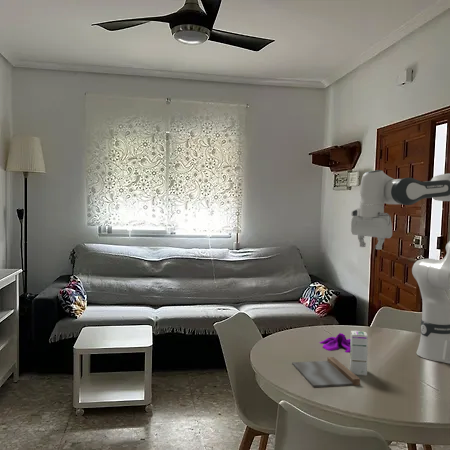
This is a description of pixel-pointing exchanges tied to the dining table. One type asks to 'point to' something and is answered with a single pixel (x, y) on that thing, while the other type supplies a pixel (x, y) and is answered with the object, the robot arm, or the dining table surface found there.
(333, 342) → the cloth
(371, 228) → the robot arm
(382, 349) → the dining table surface
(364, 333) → the syrup box
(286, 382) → the dining table surface
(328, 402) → the dining table surface
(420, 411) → the dining table surface
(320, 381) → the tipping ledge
